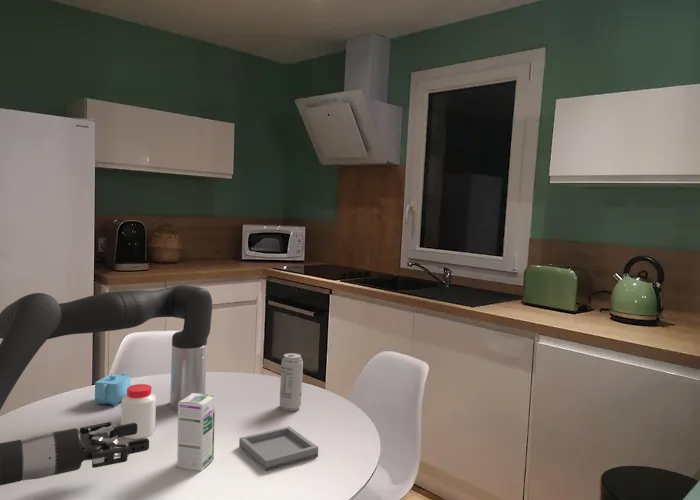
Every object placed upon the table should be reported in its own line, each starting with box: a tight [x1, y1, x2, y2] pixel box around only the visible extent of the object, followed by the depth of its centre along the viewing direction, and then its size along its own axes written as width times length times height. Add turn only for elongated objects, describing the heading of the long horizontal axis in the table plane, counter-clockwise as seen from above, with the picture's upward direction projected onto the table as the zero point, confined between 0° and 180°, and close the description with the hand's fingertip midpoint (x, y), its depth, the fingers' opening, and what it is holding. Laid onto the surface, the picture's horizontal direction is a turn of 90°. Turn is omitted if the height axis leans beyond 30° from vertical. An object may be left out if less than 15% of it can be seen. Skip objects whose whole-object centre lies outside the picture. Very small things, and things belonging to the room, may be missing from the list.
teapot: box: [94, 371, 131, 407], centre depth 145 cm, size 12×6×8 cm, turn 173°
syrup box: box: [176, 393, 216, 472], centre depth 112 cm, size 6×6×14 cm
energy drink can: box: [279, 352, 304, 412], centre depth 147 cm, size 6×6×15 cm
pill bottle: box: [120, 383, 157, 440], centre depth 126 cm, size 8×8×11 cm
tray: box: [238, 426, 319, 472], centre depth 120 cm, size 13×13×2 cm
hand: (142, 435), depth 105 cm, fingers open, 8 cm apart
